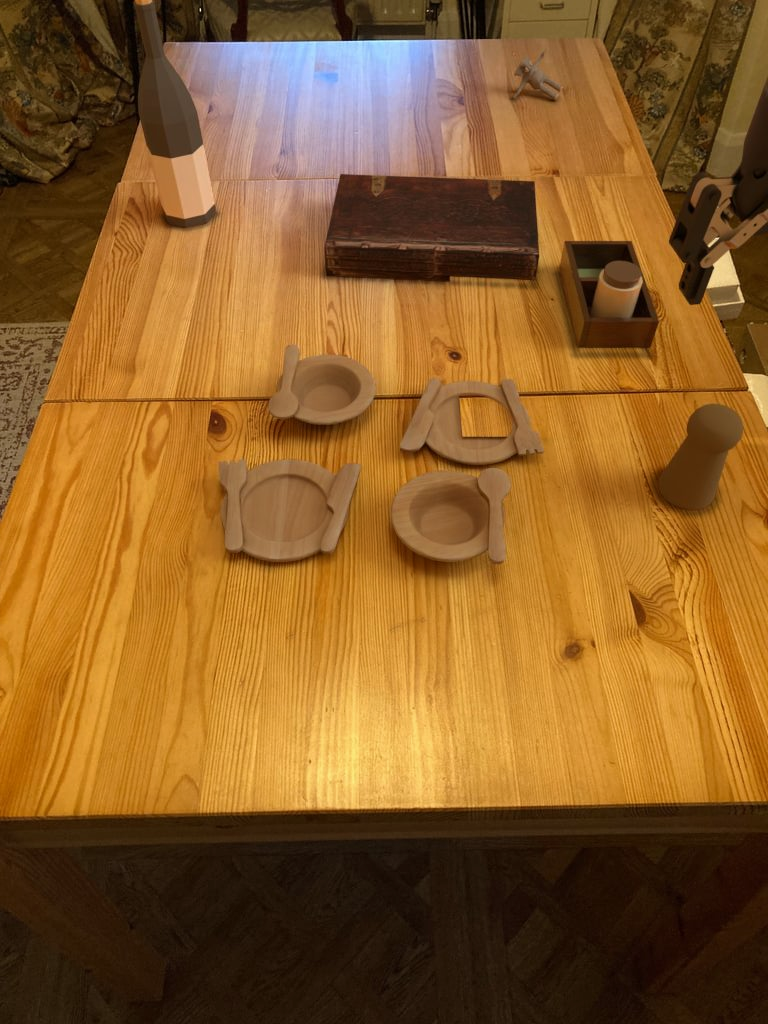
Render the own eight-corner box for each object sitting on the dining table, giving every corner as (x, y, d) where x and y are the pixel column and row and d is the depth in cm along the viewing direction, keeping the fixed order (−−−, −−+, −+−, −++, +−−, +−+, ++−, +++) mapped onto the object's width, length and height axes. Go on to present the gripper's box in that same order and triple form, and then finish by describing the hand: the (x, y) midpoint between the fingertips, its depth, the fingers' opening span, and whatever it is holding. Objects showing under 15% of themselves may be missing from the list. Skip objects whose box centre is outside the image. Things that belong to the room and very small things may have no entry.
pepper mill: (726, 500, 82) (766, 428, 74) (679, 516, 81) (713, 445, 72) (692, 461, 86) (726, 388, 77) (646, 476, 84) (676, 403, 76)
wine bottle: (159, 228, 115) (101, 0, 92) (167, 200, 120) (113, -23, 97) (213, 227, 115) (169, -1, 92) (219, 199, 120) (178, -24, 97)
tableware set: (192, 557, 78) (184, 533, 75) (260, 366, 96) (255, 340, 93) (540, 596, 75) (546, 572, 72) (542, 391, 93) (548, 366, 90)
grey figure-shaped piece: (544, 112, 138) (503, 84, 138) (541, 125, 144) (501, 97, 144) (578, 62, 137) (536, 33, 137) (573, 77, 143) (533, 49, 143)
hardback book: (326, 276, 108) (323, 244, 104) (342, 205, 119) (340, 174, 115) (534, 286, 106) (539, 254, 102) (529, 212, 118) (534, 181, 114)
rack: (622, 272, 108) (631, 240, 104) (648, 353, 97) (659, 321, 93) (558, 272, 108) (564, 240, 104) (576, 353, 97) (584, 321, 93)
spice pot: (624, 312, 101) (640, 258, 95) (632, 337, 98) (648, 283, 91) (584, 312, 101) (597, 258, 95) (591, 337, 98) (605, 283, 91)
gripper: (751, 124, 48) (675, 332, 61) (958, 104, 49) (842, 311, 62) (700, 73, 53) (640, 276, 65) (891, 56, 54) (796, 258, 67)
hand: (738, 293), depth 64 cm, fingers open, 8 cm apart
